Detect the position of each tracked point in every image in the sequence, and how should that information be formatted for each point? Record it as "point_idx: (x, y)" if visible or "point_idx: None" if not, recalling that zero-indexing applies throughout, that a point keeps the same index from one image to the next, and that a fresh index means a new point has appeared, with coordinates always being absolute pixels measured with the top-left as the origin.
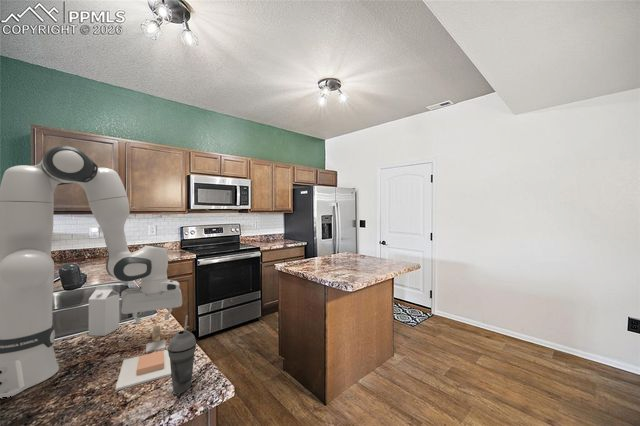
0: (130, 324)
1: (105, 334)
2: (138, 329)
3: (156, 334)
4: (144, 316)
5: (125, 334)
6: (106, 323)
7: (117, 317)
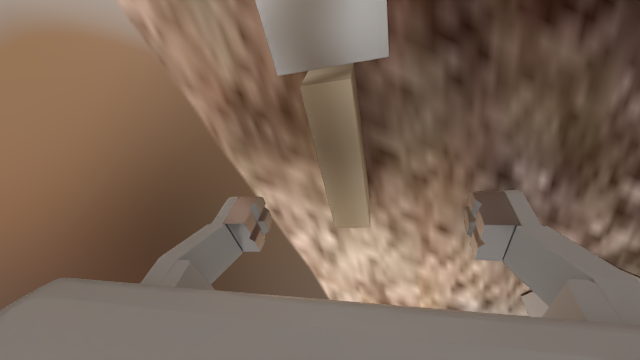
0: (472, 307)
1: None
2: (441, 261)
3: (324, 95)
4: None
5: None
6: None
7: None
